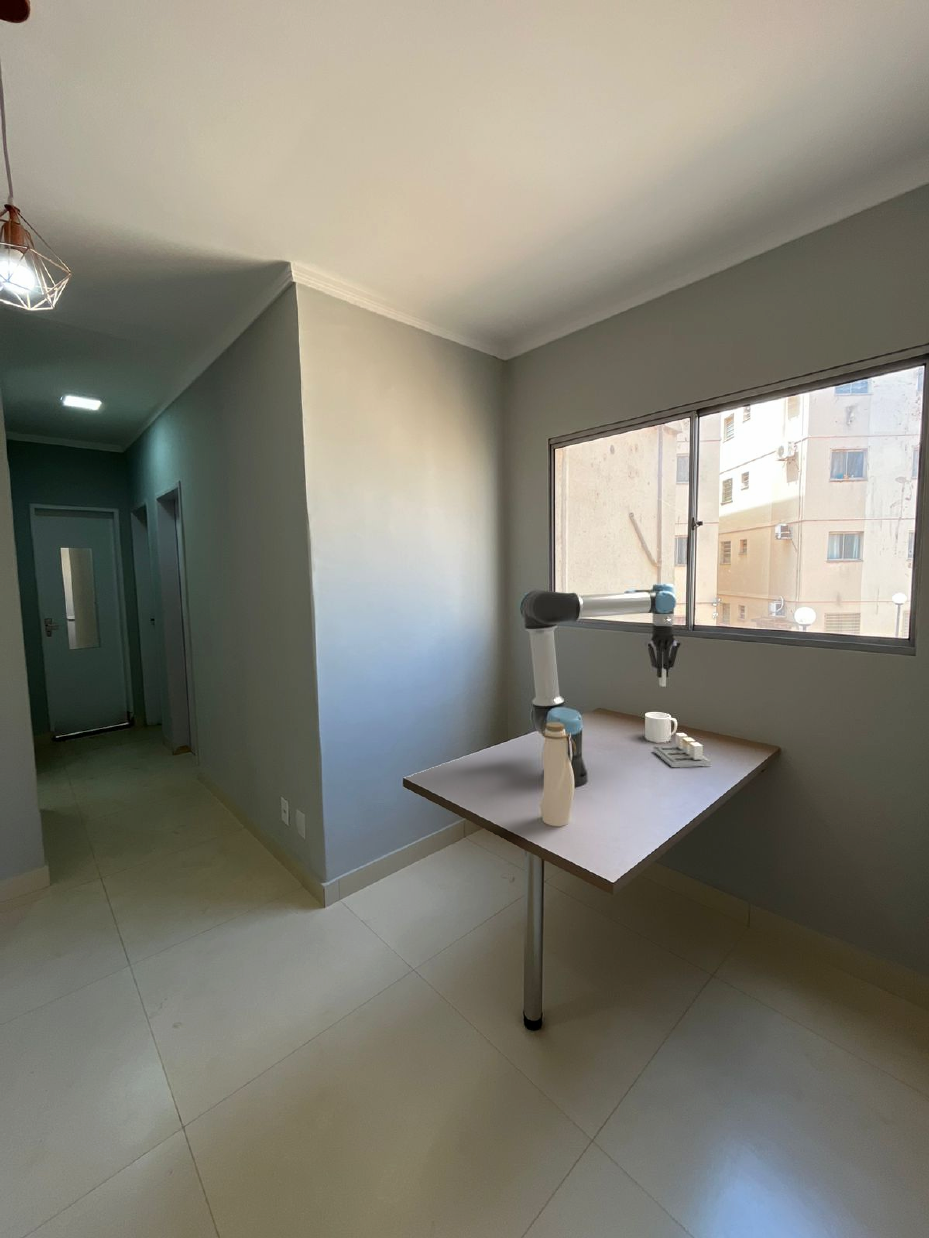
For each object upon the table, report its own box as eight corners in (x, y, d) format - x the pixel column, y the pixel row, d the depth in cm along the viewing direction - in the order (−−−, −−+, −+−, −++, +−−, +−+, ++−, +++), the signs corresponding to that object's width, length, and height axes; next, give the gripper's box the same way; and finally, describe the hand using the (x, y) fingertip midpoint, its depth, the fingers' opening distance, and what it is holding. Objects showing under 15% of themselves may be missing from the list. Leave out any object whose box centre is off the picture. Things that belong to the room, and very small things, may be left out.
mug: (641, 740, 208) (642, 716, 207) (649, 734, 216) (649, 710, 215) (673, 746, 200) (673, 721, 199) (679, 739, 208) (680, 715, 207)
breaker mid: (687, 754, 185) (687, 740, 184) (682, 750, 188) (682, 737, 188) (695, 753, 185) (695, 740, 184) (690, 750, 188) (690, 737, 188)
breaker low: (694, 759, 179) (694, 746, 179) (689, 755, 183) (689, 742, 182) (702, 759, 179) (702, 745, 179) (697, 755, 183) (697, 742, 183)
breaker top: (679, 748, 190) (679, 736, 190) (675, 745, 194) (675, 733, 193) (687, 748, 190) (687, 735, 190) (682, 745, 194) (683, 732, 193)
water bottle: (572, 811, 148) (571, 719, 145) (580, 826, 139) (579, 728, 136) (537, 812, 148) (536, 720, 145) (543, 827, 139) (542, 729, 136)
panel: (672, 767, 178) (672, 762, 178) (653, 752, 194) (653, 746, 194) (710, 766, 179) (710, 760, 179) (688, 750, 195) (688, 745, 195)
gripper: (650, 626, 185) (649, 688, 187) (684, 625, 186) (683, 687, 188) (642, 624, 192) (641, 684, 195) (675, 623, 193) (674, 683, 195)
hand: (662, 685), depth 191 cm, fingers closed
